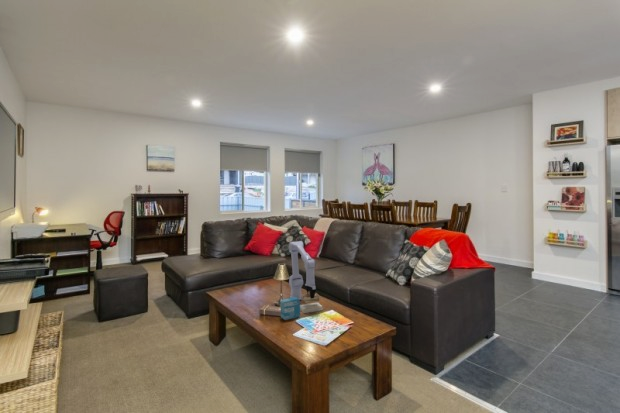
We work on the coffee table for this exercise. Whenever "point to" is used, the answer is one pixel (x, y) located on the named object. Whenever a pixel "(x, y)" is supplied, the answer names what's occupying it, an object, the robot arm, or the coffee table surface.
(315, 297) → the wooden box
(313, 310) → the dock
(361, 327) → the coffee table surface
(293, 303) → the data package
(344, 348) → the coffee table surface
